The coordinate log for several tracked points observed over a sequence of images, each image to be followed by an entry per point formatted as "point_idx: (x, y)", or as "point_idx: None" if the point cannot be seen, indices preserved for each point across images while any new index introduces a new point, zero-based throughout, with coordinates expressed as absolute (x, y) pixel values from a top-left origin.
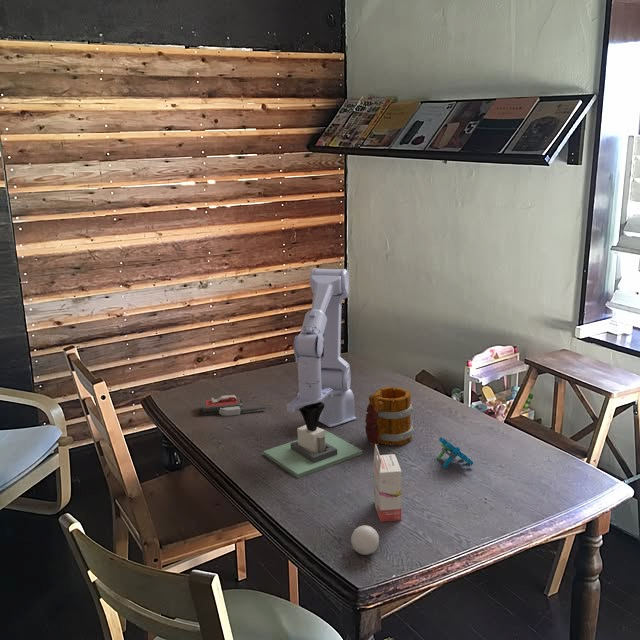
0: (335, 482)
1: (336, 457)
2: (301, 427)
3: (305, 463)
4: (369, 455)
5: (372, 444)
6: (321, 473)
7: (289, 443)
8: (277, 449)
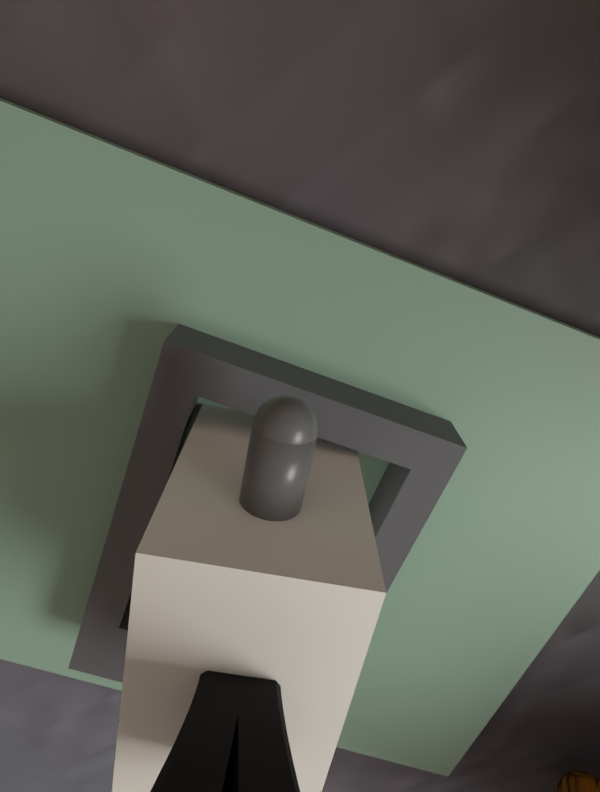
0: (31, 779)
1: None
2: (209, 579)
3: (39, 585)
4: (444, 780)
5: (564, 788)
6: (61, 680)
7: (272, 235)
8: (77, 203)
